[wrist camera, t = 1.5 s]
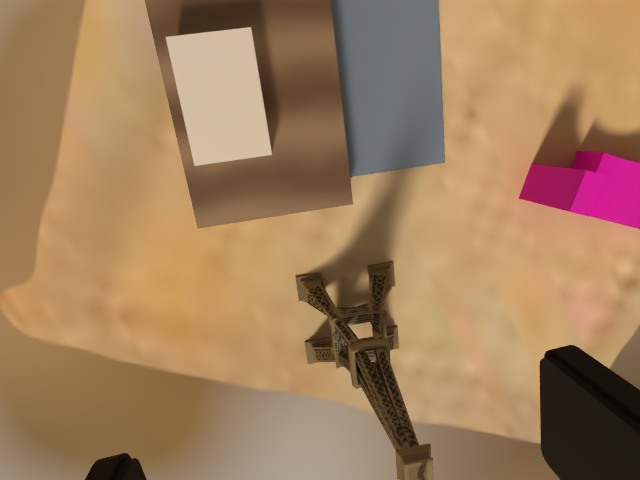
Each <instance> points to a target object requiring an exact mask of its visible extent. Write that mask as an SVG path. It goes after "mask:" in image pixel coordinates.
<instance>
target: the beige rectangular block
mask: <svg viewBox="0 0 640 480" xmlns="http://www.w3.org/2000/svg"><path fill="white" fill-rule="evenodd" d="M166 41H167V46H168V50H169V55H170V59H171V64H172V68H173V73H174V77H175V81H176V86H177V90H178V95H179V99H180V104H181V108H182V113H183V117H184V122H185V126H186V130H187V135H188V139H189V144H190V148H191V153H192V157H193V162H194V166H198V165H205V164H212V163H219V162H226V161H233V160H240V159H247V158H254V157H261V156H268V155H272V150H271V144H270V138H269V132H268V126H267V120H266V114H265V108H264V102H263V96H262V90H261V84H260V78H259V72H258V66H257V59H256V53H255V47H254V41H253V35H252V30H251V27H248V28H239V29H231V30H222V31H213V32H204V33H196V34H187V35H178V36H170V37H166Z"/></svg>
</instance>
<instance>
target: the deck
mask: <svg viewBox="0 0 640 480" xmlns="http://www.w3.org/2000/svg"><path fill="white" fill-rule="evenodd" d="M145 3H146V8H147V12H148V16H149V21H150V25H151V29H152V33H153V38H154V42H155V46H156V51H157V55H158V59H159V64H160V68H161V72H162V76H163V81H164V85H165V89H166V94H167V98H168V102H169V107H170V111H171V115H172V119H173V124H174V128H175V132H176V137H177V141H178V145H179V150H180V154H181V158H182V162H183V167H184V171H185V175H186V180H187V184H188V188H189V193H190V197H191V201H192V205H193V210H194V214H195V218H196V223H197V227H198V228H204V227H210V226H217V225H223V224H230V223H236V222H242V221H249V220H255V219H261V218H268V217H274V216H280V215H287V214H293V213H299V212H306V211H312V210H319V209H325V208H331V207H338V206H344V205H350V204H353V200H352V191H351V182H350V173H349V164H348V155H347V146H346V137H345V127H344V118H343V109H342V100H341V91H340V82H339V73H338V64H337V55H336V46H335V37H334V28H333V18H332V9H331V0H145ZM248 27H251V30H252V35H253V41H254V47H255V53H256V59H257V66H258V72H259V78H260V84H261V90H262V96H263V102H264V108H265V114H266V120H267V126H268V132H269V138H270V144H271V150H272V155H268V156H261V157H254V158H247V159H240V160H233V161H226V162H219V163H212V164H205V165H198V166H194V162H193V157H192V153H191V148H190V144H189V139H188V135H187V130H186V126H185V122H184V117H183V113H182V108H181V104H180V99H179V95H178V90H177V86H176V81H175V77H174V73H173V68H172V64H171V59H170V55H169V50H168V46H167V41H166V37H170V36H178V35H187V34H196V33H204V32H213V31H222V30H231V29H239V28H248Z"/></svg>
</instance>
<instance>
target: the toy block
mask: <svg viewBox="0 0 640 480" xmlns="http://www.w3.org/2000/svg"><path fill="white" fill-rule="evenodd" d="M519 199H523V200H527V201H531V202H535V203H539V204H542V205H546V206H550V207H554V208H558V209H562V210H566V211H569V212H573V213H577V214H581V215H585V216H591V217H595V218H599V219H603V220H607V221H611V222H615V223H619V224H623V225H626V226H630V227H634V228H638V229H640V163H638V162H633V161H629V160H625V159H622V158H618V157H615V156H612V155H609V154H607V153H605V152H589V151H578V152H577V155H576V157H575V160H574V162H573V165H572V167H571V168H563V167H554V166H545V165H536V164H531V167H530V169H529V172H528V175H527V177H526V180H525V183H524V186H523V188H522V191H521V194H520V196H519Z"/></svg>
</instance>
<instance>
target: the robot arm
mask: <svg viewBox="0 0 640 480" xmlns="http://www.w3.org/2000/svg"><path fill="white" fill-rule="evenodd" d="M540 415H541V451H542V454H543V456H544V459H545V460H546V462H547V464H548V465H549V466H550V468H551V469H552V470H553V471H554V472H555V474H556V475H557V476H558V477H559V478H560V480H640V390H639V389H637V388H636V387H634V386H633V385H632V384H630V383H629V382H627V381H626V380H624V379H623V378H621V377H620V376H619V375H617V374H616V373H614V372H613V371H611V370H610V369H608V368H607V367H606V366H604V365H603V364H601V363H600V362H598V361H597V360H595V359H594V358H593V357H591V356H590V355H588V354H587V353H585V352H584V351H582V350H581V349H580V348H578V347H576V346H574V345H569V346H564V347H560V348H556V349H552V350H549V351H546V353H545V356H544V358H543V359H541V361H540ZM85 480H146V477H145V475H144V472H143V470H142V468H141V465H140V463H139V461H138V460H137V459H136V458H134V459H131V457H130V456H129V455H128V454H127V453H123V454H120V455H115V456H111V457H107V458H103V459H99V460H97V461H96V462H95V463H94V464H93V466H92V468H91V469H90V471H89V473H88V475H87V477H86V479H85Z"/></svg>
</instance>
